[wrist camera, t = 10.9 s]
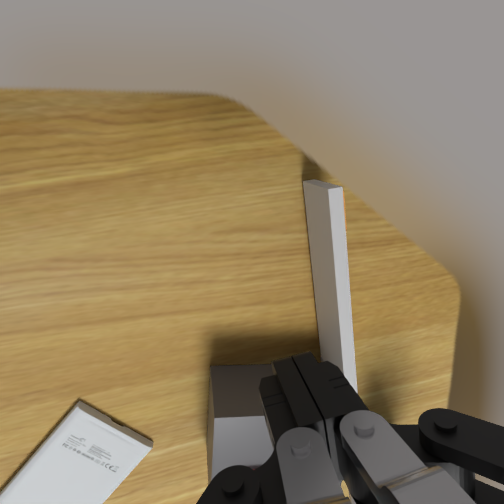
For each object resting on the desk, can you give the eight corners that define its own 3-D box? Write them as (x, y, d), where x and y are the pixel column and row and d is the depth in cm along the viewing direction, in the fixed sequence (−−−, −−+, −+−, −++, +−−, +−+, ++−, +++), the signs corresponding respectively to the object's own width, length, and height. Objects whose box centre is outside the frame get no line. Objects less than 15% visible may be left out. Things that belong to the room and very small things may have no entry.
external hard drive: (1, 489, 35) (81, 396, 34) (77, 523, 38) (154, 437, 37) (-8, 504, 34) (75, 408, 33) (72, 539, 36) (152, 450, 35)
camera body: (206, 446, 37) (210, 521, 30) (210, 365, 35) (215, 425, 27) (334, 438, 39) (368, 506, 32) (346, 362, 37) (385, 416, 29)
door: (301, 181, 31) (326, 189, 25) (321, 178, 31) (350, 185, 25) (320, 365, 36) (345, 406, 30) (337, 361, 36) (365, 401, 30)
